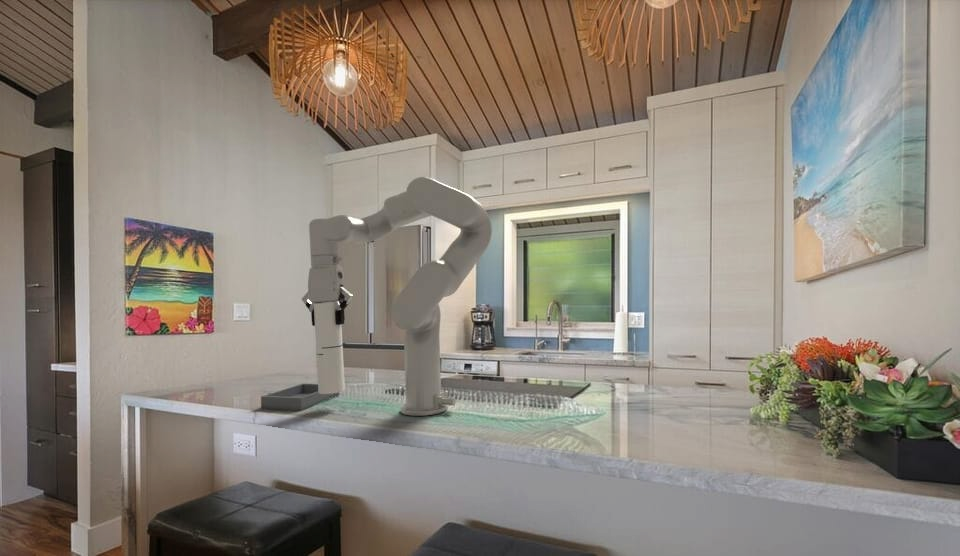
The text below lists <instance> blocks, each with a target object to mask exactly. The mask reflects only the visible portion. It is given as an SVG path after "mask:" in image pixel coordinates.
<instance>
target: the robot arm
mask: <svg viewBox="0 0 960 556" xmlns="http://www.w3.org/2000/svg"><path fill="white" fill-rule="evenodd" d="M432 216H433V217H434V218H437V219H439V220H441V221H444V222H445V223H447V224H449V225H451V226H454V227H455V228H458V229H460V232H459V235H458V236H457V237H456V238H455V239H454V240H453V241H452V242H451V243H450V245H449V246H448V247H447V249H446V251H445V252H444V253H443V255H442V256H440V257H439V259H438V260H437V259H434V260H430V261H426V262H425V263H424V264H422V265H421V266H420V267H418V269H417V270H416V272H414V273H413V275H412V276H411V277H410V279H409V281H408V282H407V283H406V285H405V286H404V287H403V289H402V290H401V291H400V292H399V294H398V296H397V297H396V298H395V299H394V301H393V303H392V306H391V309H390V317H391V320H392V323H393V324H394V326H396V328H398V329H399V330H401V331H404V341H403V342H404V347H403V348H404V353H403V354H404V377H405V378H404V379H405V380H404V381H405V382H404V383H405V403H404V404H403V405H401V407H400V413H401V414H403V415H406V416H413V417H414V416H415V417H416V416H417V417H423V416H432V415H437V414H440V413H441V414H442V413H444V412H446V411H447V410H448V406H455V405H456V397H454V396H446V395H445V394H446V393H445V391H444V390H442V384H441V383H442V380H441V379H442V378H441V357H440V356H441V353H440V352H441V351H440V350H441V349H440V347H441V345H440V331H441V330H440V329H441V317H442V316H441V307H440V305H439V304H440V303H441V301H443V299H444V298H447V297H451V296H452V295H453V294H455V293H456V292H457V290H458V289H459V288H460V286H461V285H462V283H463V282H464V281H465V279H466V278H467V277H468V275H469V274H470V273H471V271H472V270H473V269H474V267H475V265H476V264H477V263H478V262H479V260H480V259H481V257H482V256H483V255H484V254H485V252H486V250H487V249H488V247H489V244H490V242H491V240H492V235H493V234H492V230H493V229H492V228H493V227H492V222H491V219H490V216H489V214H488V213H487V210H486V209H485V207H484V206H483V205H482V204H481V203H480V202H478V201H477V200H476V199H475V198H474V197H472V196H471V195H469V194H468V193H465V192H462V191H461V190H458V189H457V188H454V187H451V186H449V185H446V184H444V183H442V182H439V181H437V180H436V179H434V178H431V177H427V176H417V177H416V178H414V179H412V180H411V181H410V182H409V183H408V185H407V187H406V191H405V190H404V191H403V192H401V193H398V194H395V195H392V196H389V197H387V198H386V199H385V200H384V202H383V207H382V209H380V210H379V211H377V212H376V213H373V214H371V215H368V216H365V217H362V218H357V217H353V216H350V215H345V214H340V215H334V216H332V217H329V218H313V219H312V220H311V221H310V222H309V224H308V229H309V248H310V251H309V252H310V268H309V271H308V278H307V279H308V280H307V293H305V294H304V295H303V297H302V298H301V301H302V302H303V304H305V307H306V308H307V309H308V311H309V312H311V325H312V326H313V327H315V317H314V304H316V303H331V302H334V305H335V307H336V308H337V310H336V311H335V319H336V325H340V324H341V325H344V324H345V320H346V319H345V310H347V307H348V306H349V304H350V302H351V300H352V299H353V296H354V295H353V294H352V293H351V292H350V291H348V290H347V286H346V280H345V279H346V278H345V273H344V270H343V267H342V266H340V263H341V262H342V261H343V259H342V257H341V256H339V242H340V243H344V244H345V243H346V244H352V245H365V244H368V243H371V242H373V241H377V240H379V239H381V238H383V237H386V236H388V235H390V234H391V233H392V232H394V231H396V230H397V229H398V228H401V227H403V226H406V225H408V224H412V223H415V222H417V221H420V220H422V219H425V218H429V217H432Z"/></svg>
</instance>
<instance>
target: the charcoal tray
mask: <svg viewBox="0 0 960 556" xmlns="http://www.w3.org/2000/svg"><path fill="white" fill-rule="evenodd" d="M338 395H340V392H338V393H332V394H319V393H318V383H301V384H296V385H294V386H289V387H287V388H284V389H281V390H278V391H273V392H271V393H268V394H264V395H262V396H261V395H260V408H269V409H268V410H279V409H284V410H283V411H301V412H302V411H304V410H306V409H307V410H308V409H309V408H312V407H314V405H315V406H317V405H319V404H318V403H320V402H322V401H324V400H327V399H329V398H332V397H335V396H337V397H339V396H338ZM335 398H336V397H335ZM332 399H333V398H332ZM327 401H328V400H327ZM322 403H323V402H322ZM316 404H317V405H316ZM320 404H321V403H320Z"/></svg>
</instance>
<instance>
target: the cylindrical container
mask: <svg viewBox="0 0 960 556" xmlns="http://www.w3.org/2000/svg"><path fill="white" fill-rule="evenodd" d="M336 310H337V308H336V307H335V305H334V302H321V303H316V304H314V317H315V326H314V332H315V335H314V337H315V352H316V371H317V373H316V375H317V384H318V393H319V394H332V393H338V392H339V393H341V392H344V391H345V390H346V385H345V367H344V366H345V364H344V346H343V331H342V330H343V329H342V324H340V325H336V319H335V311H336Z"/></svg>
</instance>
